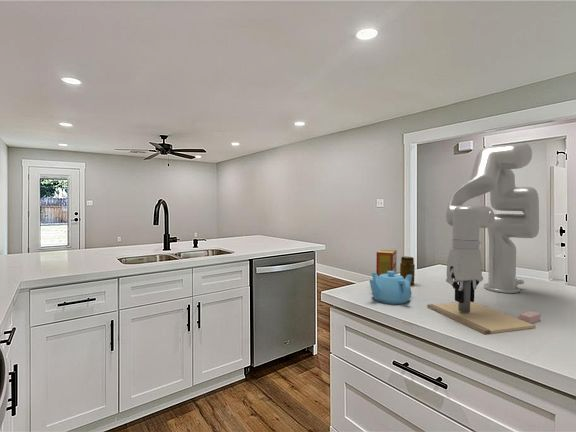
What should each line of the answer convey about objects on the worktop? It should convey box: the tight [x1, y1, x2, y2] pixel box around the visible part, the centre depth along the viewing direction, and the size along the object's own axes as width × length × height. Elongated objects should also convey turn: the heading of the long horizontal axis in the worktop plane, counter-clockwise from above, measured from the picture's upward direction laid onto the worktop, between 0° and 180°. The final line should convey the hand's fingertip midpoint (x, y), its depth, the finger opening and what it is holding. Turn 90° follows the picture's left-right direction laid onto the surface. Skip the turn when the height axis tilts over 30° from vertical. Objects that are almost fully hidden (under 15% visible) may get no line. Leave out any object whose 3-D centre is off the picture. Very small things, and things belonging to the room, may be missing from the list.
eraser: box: [518, 310, 541, 324], centre depth 101 cm, size 6×3×2 cm, turn 118°
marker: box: [458, 280, 471, 312], centre depth 105 cm, size 4×4×12 cm
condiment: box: [399, 256, 422, 287], centre depth 146 cm, size 7×8×12 cm
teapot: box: [369, 271, 412, 305], centre depth 123 cm, size 15×15×11 cm
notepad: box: [426, 301, 536, 335], centre depth 104 cm, size 18×24×1 cm
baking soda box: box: [375, 248, 398, 276], centre depth 141 cm, size 10×6×16 cm
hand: (464, 300), depth 106 cm, fingers closed on marker, 3 cm apart
